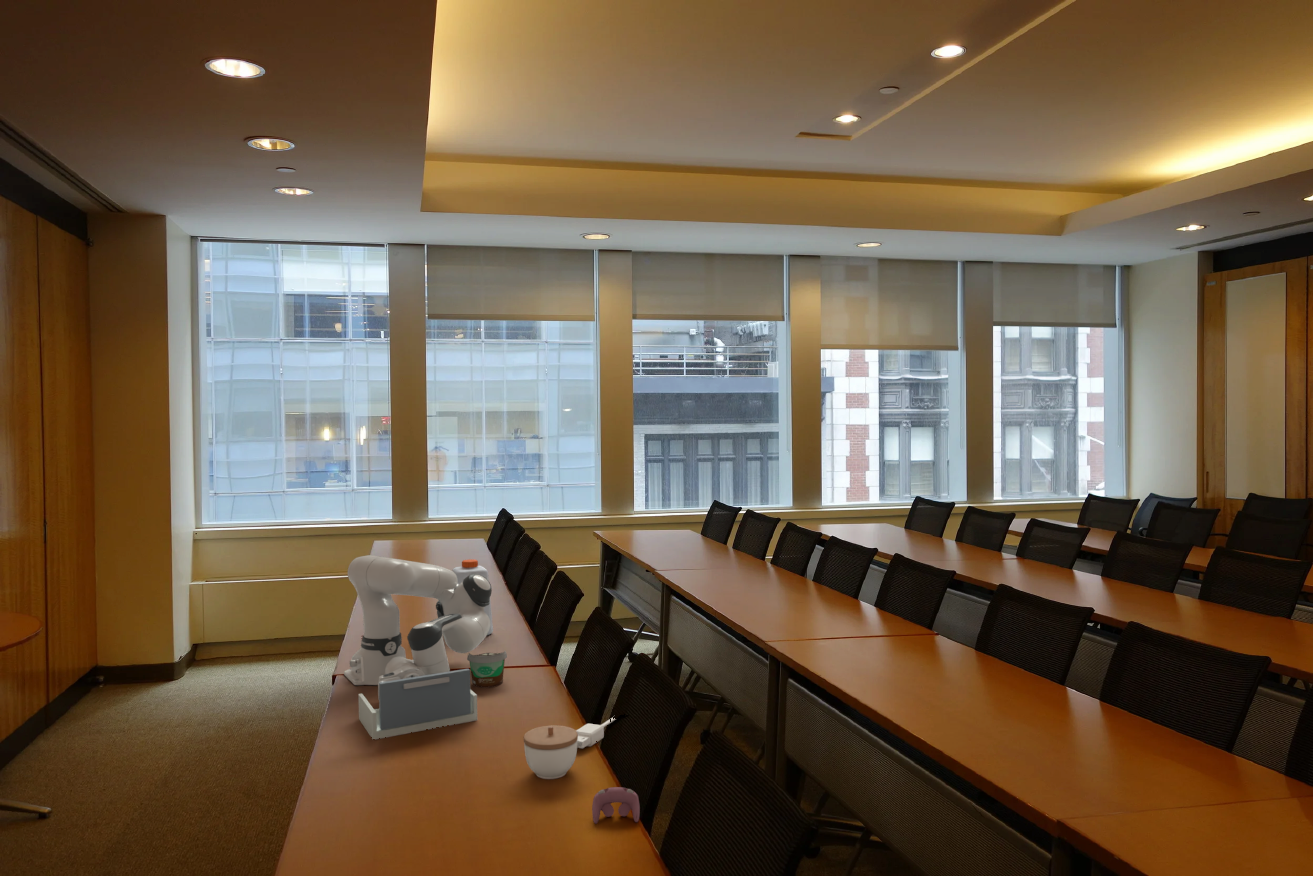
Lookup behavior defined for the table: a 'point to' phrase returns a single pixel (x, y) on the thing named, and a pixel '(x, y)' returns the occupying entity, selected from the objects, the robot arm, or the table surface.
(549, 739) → the lidded bowl
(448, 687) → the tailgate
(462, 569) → the plastic bottle
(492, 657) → the food container
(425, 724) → the tray
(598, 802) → the video game controller
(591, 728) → the charging cable
